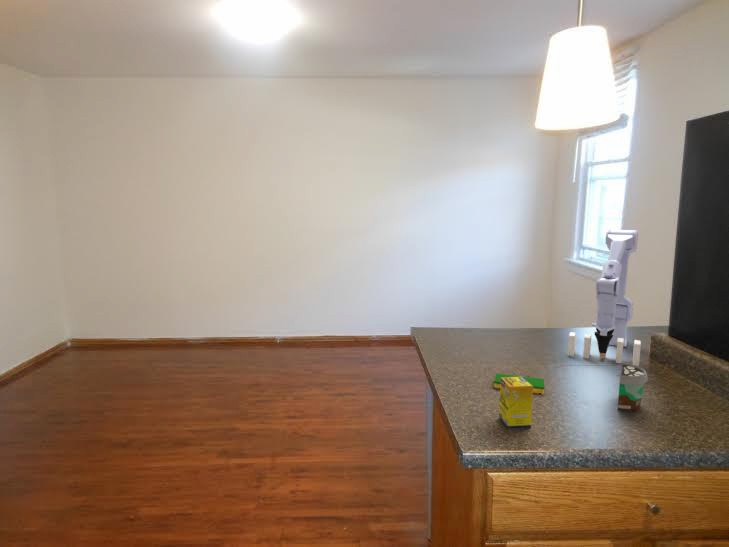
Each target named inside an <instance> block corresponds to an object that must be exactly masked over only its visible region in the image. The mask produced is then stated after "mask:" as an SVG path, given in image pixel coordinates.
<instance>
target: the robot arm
mask: <svg viewBox="0 0 729 547" xmlns="http://www.w3.org/2000/svg"><path fill="white" fill-rule="evenodd" d="M638 240H639V232H638V230H637V229H633V230H632V229H610V228H609V229H608V230H606V234H605V244H606V247H607V249H608V250H609V255H608V261H606V262H604V264H603V268H602V270H601V274H600V277H599V278H598V279H597V280H596V285H595V291H596V292H595V293H596V296H595V297H596V300H597V301H596V312H595V314H596V316H595V322H592V323H591V327H594V328H595V330H596V331H594V336H595V338H596V341H597V348H598V353H599V354H600V353H605V354H606V355H607V352H608V348H609V346H615V347H617V340H618V338H623V339H624V341H623V348H626V347H627V343H628V342H627V341H628V340H627V331H628V330H627V328H628V327H627V325H628V322H629V323H630V322H631V321H632V319H633V314H634V313H633V310H634V308H633V306H634V305H633V304H634V303H633V301H632V300H631V299H630V298H628V296H626V290H627V289H626V288H627V280H628V269H629V268H628V267H629V260H630V255H631V253H632V254H633V253H635V252H636V251H637V249H638Z"/></svg>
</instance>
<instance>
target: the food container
mask: <svg viewBox="0 0 729 547" xmlns="http://www.w3.org/2000/svg"><path fill="white" fill-rule="evenodd" d="M647 382H648V374H647V372H646V370H645V369H644V368H642V367H641V366H640V365H639V366H636V365H633V363H628V362H623V361H622V365H621V373H620V375H619V386H618V397H617V399H618V401H617V411H619V410H621V411H620V412H627V411H631V412H637V411H639V410H640V409H641V403H642V398H643V393H644V392H643V391H644V385H645V384H646V383H647Z"/></svg>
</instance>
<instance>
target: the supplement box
mask: <svg viewBox="0 0 729 547" xmlns="http://www.w3.org/2000/svg"><path fill="white" fill-rule="evenodd" d="M523 377H524V376H522V377H504V378H501V382H500V389H499V390H500V391H499V409H498V410H499V411H498V412H499V414H498V418H499V419H500V420H501V422H502V423H503V424H504V425H505V427H506V429H508V430H513V429H514V430H517V429H531V428H532V418H533V417H532V415H533V413H532V411H533V397H534V393H533V386H532V385H531V384H530V383H528V382H527V381H526V380H525V379H524V378H523Z"/></svg>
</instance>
